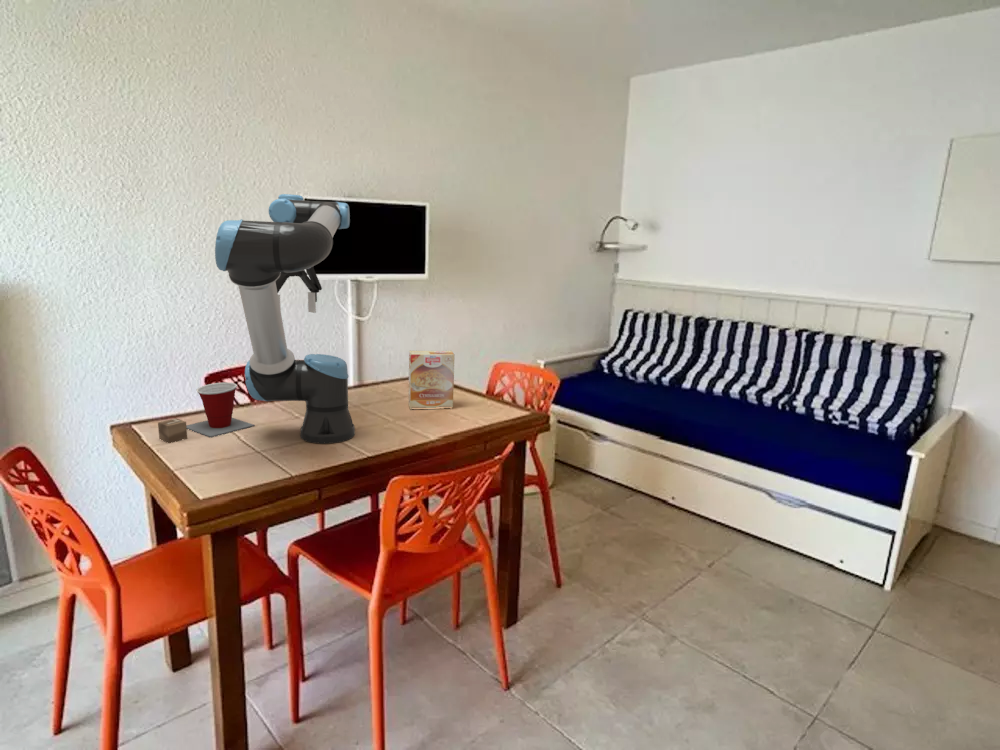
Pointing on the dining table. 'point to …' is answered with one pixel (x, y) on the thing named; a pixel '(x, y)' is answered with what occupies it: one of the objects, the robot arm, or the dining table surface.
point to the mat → (211, 432)
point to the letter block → (172, 430)
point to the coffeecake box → (431, 379)
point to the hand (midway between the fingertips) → (295, 314)
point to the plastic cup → (218, 403)
